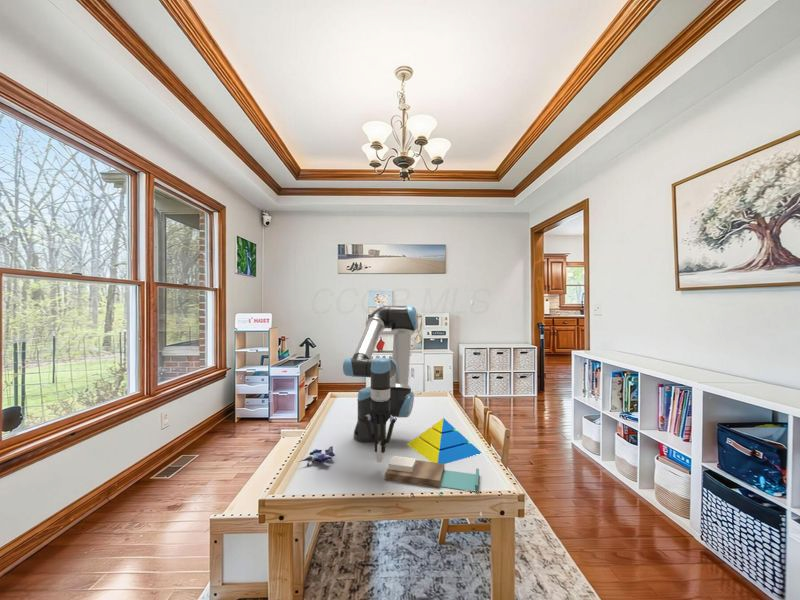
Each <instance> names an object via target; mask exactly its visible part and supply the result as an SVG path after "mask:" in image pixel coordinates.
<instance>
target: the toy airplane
mask: <svg viewBox="0 0 800 600" xmlns="http://www.w3.org/2000/svg"><path fill="white" fill-rule="evenodd" d="M333 451H334V447H333V446H332V445H331V446H330V447H329V448H328V449H324V453H323V450H322V449H318V448H317V449H316V448H315V449H313V450H312V451H311V452H309V453H308V456H306V457H305V458H304V459H302V460H299V461H298V463H300V462H306V461H307V464H306V466H307V467H308V466H310V462H312V463H314V462H318V463H330V462H331V460H332V457H333V458H334V457H336V454H335V452H333Z"/></svg>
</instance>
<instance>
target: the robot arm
mask: <svg viewBox="0 0 800 600" xmlns="http://www.w3.org/2000/svg"><path fill="white" fill-rule="evenodd" d="M418 321H419V320H418V314H417V310H416V308H415V307H414V306H413V305H383V306H381V307H379V308H377V309H375V310H373V312H371V313H370V315H369V316H368V317H367V319H366V321H365V329H364V331H363V333H362V334H361V335H362V336H361V338H360V339H359V342H358V345H357V347H356V349H355V351H354V354H353V355H352V358H351V357H347V358H345V359H344V361H343V363H342V372H343V374H344V376H347V377H353V378H354V377H355V378H357V377H358V378H370V386H368V387H363V388H362V389H360V390H358V393H357V400H356V401H357V422H356V425H355V428H354V430H353V438H354V440H355V441H358V442H359V443H360V442H361V443H367V444H368V443H374V452H375V453H376V462H377V463H381V462H382V461H383V460H384V453H385V452H386V444H389V443H390V441H391V438H392V433H393V431H394V426H395V423H396V422H397V420H398V418H408V417H410V415H411V413H412V411H413V407H414V403H415V393H414V392H413V391H412V388H411V387H410V385H409V375H410V357H411V344H412V343H411V339H412V336H413V335H414V334H415V330H418V326H419V322H418ZM385 329H391V331H390V332H391V333H392V334H393V343H392V355H391V356H392V358H391V357H390V358H387V357H376V358H372V356H373V353H374V351H375V347H376V346H377V342H378V341H379V337H380V336H381V333H382V332H384V331H385ZM388 421H389V426H388V430H387V422H388Z"/></svg>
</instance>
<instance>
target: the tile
mask: <svg viewBox="0 0 800 600" xmlns="http://www.w3.org/2000/svg"><path fill="white" fill-rule="evenodd" d="M416 460H417V458H414V457H405V456H400V455H399V456H397V455H393V457H392V458H391V459H390V461H389V462H388V467H389V469H390V470H397V471H405V472H413V470H414V468H415V465H416Z"/></svg>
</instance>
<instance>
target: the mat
mask: <svg viewBox="0 0 800 600" xmlns="http://www.w3.org/2000/svg"><path fill="white" fill-rule="evenodd" d="M479 481H480V469H479V468H476V469H475V473H470V472H469V473H468V472H462V471H454V470H449V469H448V470H447V469H444V473H443V477H442V480H441V484H440V488H443V489H451V490H458V491H464V490H468V491H467V492H471V491H474V490H475V491H478V492H479V483H478V482H479Z"/></svg>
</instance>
